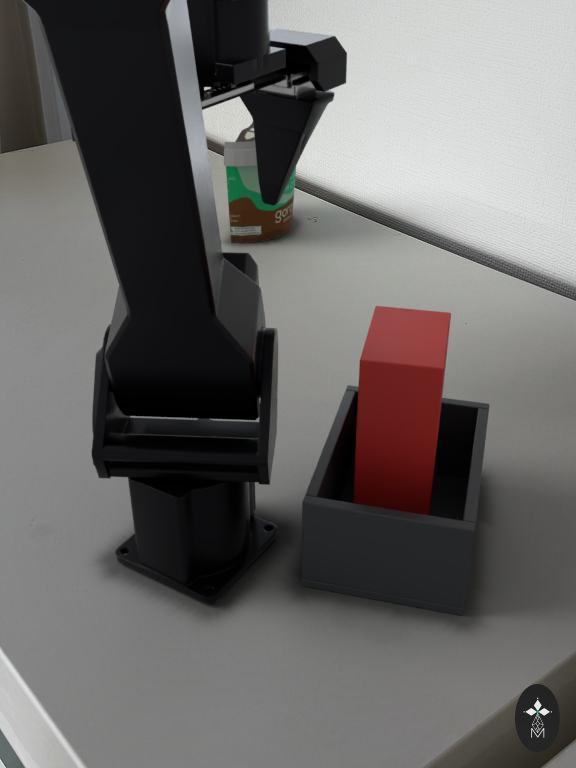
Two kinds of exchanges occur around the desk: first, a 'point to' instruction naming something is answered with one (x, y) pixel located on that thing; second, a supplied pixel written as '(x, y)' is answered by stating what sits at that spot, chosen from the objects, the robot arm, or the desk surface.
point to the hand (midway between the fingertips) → (227, 226)
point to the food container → (253, 195)
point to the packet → (400, 408)
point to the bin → (396, 518)
